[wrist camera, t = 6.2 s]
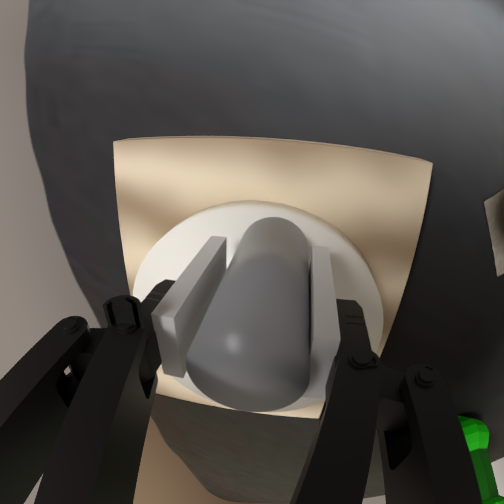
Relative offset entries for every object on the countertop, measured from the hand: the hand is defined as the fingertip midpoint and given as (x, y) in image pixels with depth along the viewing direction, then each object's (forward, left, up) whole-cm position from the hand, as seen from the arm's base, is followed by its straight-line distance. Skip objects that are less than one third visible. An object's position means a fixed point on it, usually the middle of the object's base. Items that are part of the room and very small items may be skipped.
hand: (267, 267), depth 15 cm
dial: (+6, -1, -4) cm, 7 cm away
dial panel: (+6, -1, -6) cm, 9 cm away
